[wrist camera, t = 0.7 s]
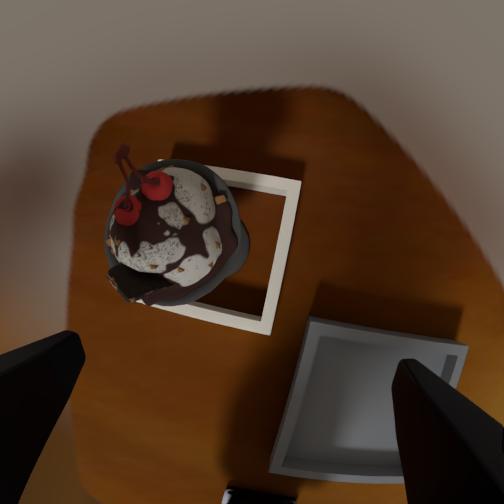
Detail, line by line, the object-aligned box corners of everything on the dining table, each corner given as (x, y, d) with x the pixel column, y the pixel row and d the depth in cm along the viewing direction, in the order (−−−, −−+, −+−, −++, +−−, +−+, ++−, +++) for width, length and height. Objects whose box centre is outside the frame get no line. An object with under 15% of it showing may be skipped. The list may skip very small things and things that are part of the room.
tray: (405, 468, 21) (413, 482, 19) (270, 456, 23) (268, 472, 20) (454, 339, 21) (468, 346, 19) (308, 315, 23) (310, 321, 20)
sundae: (234, 184, 24) (160, 76, 9) (276, 263, 23) (256, 260, 8) (160, 226, 24) (19, 182, 9) (198, 304, 24) (76, 354, 9)
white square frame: (271, 329, 23) (270, 335, 21) (140, 297, 24) (128, 299, 22) (300, 188, 23) (301, 181, 21) (167, 167, 24) (158, 159, 23)
